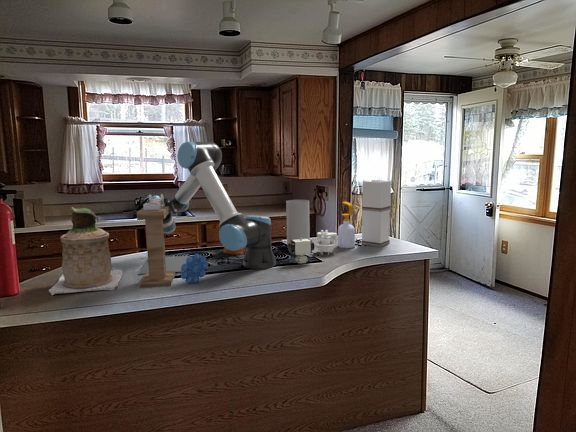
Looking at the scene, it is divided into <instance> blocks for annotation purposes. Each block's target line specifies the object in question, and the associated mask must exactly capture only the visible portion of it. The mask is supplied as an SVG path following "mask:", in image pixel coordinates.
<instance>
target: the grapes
mask: <svg viewBox="0 0 576 432" xmlns="http://www.w3.org/2000/svg"><path fill="white" fill-rule="evenodd" d="M206 261H207V257H206V256H205V255H200V254H199V253H195V254H194V255H193V256H190V257H188V258H187V259H186V263H187V264H183V265H182V267H181V270H182V271H184V272H181V275H180V277H181V279H182V280H185V283H186V284H191V283H193V284H195V283H198V282H199V281H200V279H201V278H204V277H205V275H206V269H208V267H209V263H208V261H207V262H206Z"/></svg>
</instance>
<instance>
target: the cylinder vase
mask: <svg viewBox="0 0 576 432" xmlns="http://www.w3.org/2000/svg"><path fill="white" fill-rule="evenodd" d="M285 203H286V204H285V207H286V210H285V211H286V245H287V247H288V244H289V243H290V242H291V240H297V239H300V238H302V239H310V240H311V238H310V234H311V233H310V229H311V228H310V200H308V199H289V200H286V202H285Z"/></svg>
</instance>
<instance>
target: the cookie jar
mask: <svg viewBox="0 0 576 432" xmlns="http://www.w3.org/2000/svg"><path fill="white" fill-rule="evenodd" d="M70 209H71V211H72V213H71V218H70V220H71V221H70V222H71V224H72V228H71V229H69V230H68V232H66V233H65V234H63V235H61V236H60V237H59V239H60V242H61V247H62V251H61V252H62V253H61V254H62V262H61V270H62V274H61V275H60V277H59V279H58V281H57V282H56V283H55V284H54V285H53V286H52V287H50V289H48V292H49V293H50V294H51V296H52V295H56V294H71V293H79V292H80V293H81V292H91V291H92V292H93V291H113V290H114V291H115V289H116V287H118V286H119V283H120V280H121V279H122V277H123V270H121V269H113V270H112V268H113V265H112V254H111V252H110V247H109V238H110V233H109V232H108V231H106V230H104V229H102V228H99V227H97V226H96V223H97V219H98V216H97V215H96V213H95V212H93V211H92V210H91V209H90V208H88V207H82V208H75V207H70Z"/></svg>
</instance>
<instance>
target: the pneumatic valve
mask: <svg viewBox="0 0 576 432" xmlns="http://www.w3.org/2000/svg"><path fill="white" fill-rule="evenodd" d="M287 248H288V252H289V253H290V254H292V255H293V256H295V263H297V264H299V265H300V264H307V262H308V257H307V256H306V255H308V254H309V255H310V254H313V251H314V250H315V248H316V247H315V242H314V241H313V240H311V238H310V239H302V238H300V239H297V240H291V242H290V243H289V244H288V246H287Z"/></svg>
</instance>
